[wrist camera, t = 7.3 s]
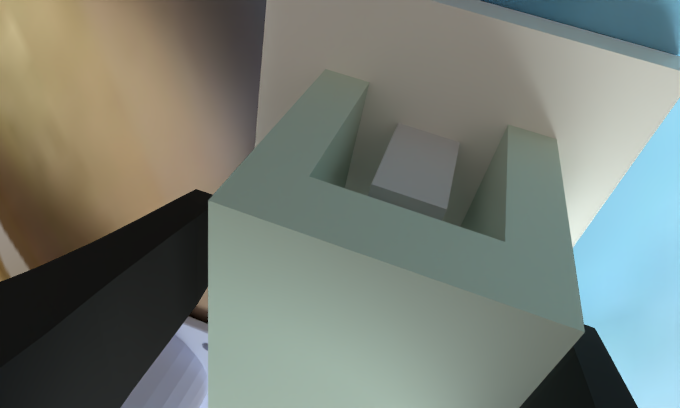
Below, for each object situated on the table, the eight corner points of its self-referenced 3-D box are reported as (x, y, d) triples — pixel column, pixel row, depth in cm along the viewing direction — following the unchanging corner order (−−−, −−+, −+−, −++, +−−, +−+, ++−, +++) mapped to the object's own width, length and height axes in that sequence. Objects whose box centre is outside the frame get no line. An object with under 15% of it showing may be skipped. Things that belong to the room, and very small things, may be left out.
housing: (457, 317, 13) (433, 505, 9) (293, 259, 14) (208, 413, 10) (556, 139, 9) (584, 331, 6) (325, 68, 10) (208, 200, 6)
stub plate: (482, 349, 15) (475, 456, 12) (256, 267, 16) (204, 349, 13) (680, 56, 9) (750, 142, 6) (289, -53, 10) (203, -19, 7)
